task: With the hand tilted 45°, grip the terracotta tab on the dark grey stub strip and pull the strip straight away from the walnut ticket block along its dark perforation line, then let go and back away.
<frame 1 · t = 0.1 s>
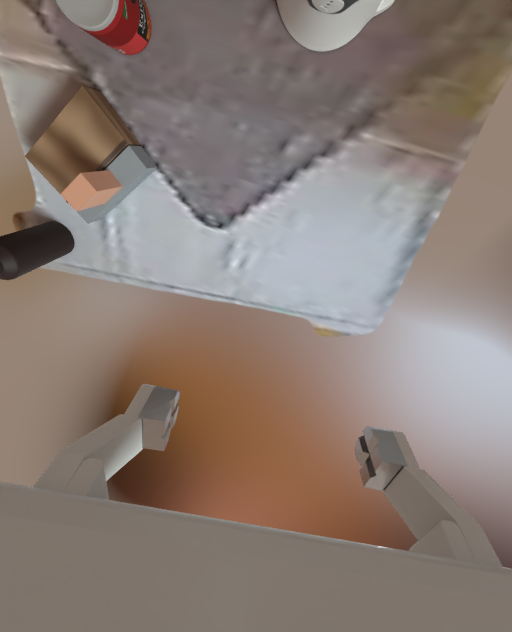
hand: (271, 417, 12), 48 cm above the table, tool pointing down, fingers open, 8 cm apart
canned food: (127, 23, 41), on the table
bottle: (59, 237, 59), on the table
stub: (101, 188, 47), point 7 cm above the table, slide at 0.0 cm
ticket block: (92, 150, 50), on the table
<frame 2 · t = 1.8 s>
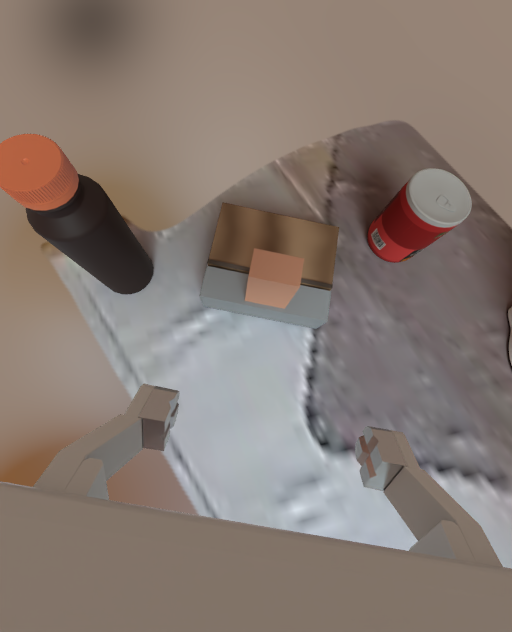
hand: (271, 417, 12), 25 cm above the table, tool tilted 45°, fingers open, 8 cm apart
canned food: (389, 241, 43), on the table
bottle: (129, 272, 39), on the table
stub: (268, 289, 33), point 7 cm above the table, slide at 0.0 cm
ticket block: (270, 261, 41), on the table
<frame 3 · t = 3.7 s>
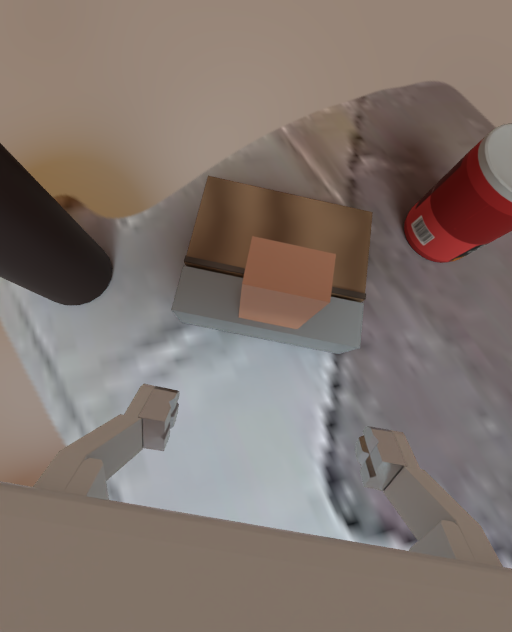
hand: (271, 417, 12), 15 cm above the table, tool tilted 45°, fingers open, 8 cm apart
canned food: (432, 235, 33), on the table
bottle: (79, 275, 28), on the table
stub: (273, 301, 22), point 7 cm above the table, slide at 0.0 cm
ticket block: (275, 259, 30), on the table
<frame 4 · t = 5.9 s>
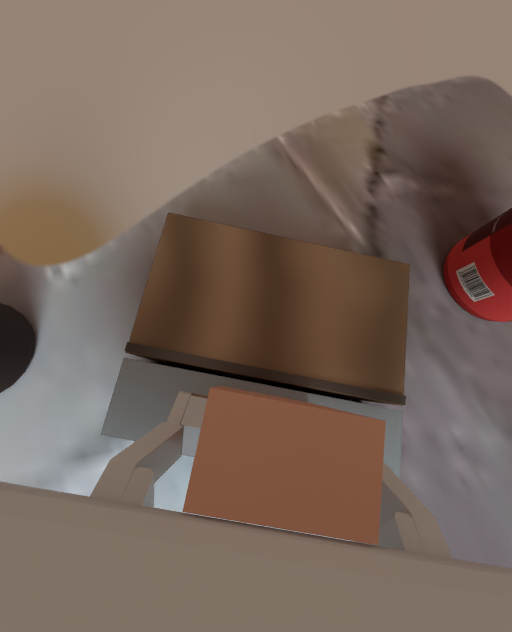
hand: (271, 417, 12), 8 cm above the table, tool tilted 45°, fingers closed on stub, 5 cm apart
canned food: (480, 281, 24), on the table
stub: (263, 426, 13), point 7 cm above the table, slide at 0.0 cm, touching gripper
ticket block: (268, 322, 22), on the table
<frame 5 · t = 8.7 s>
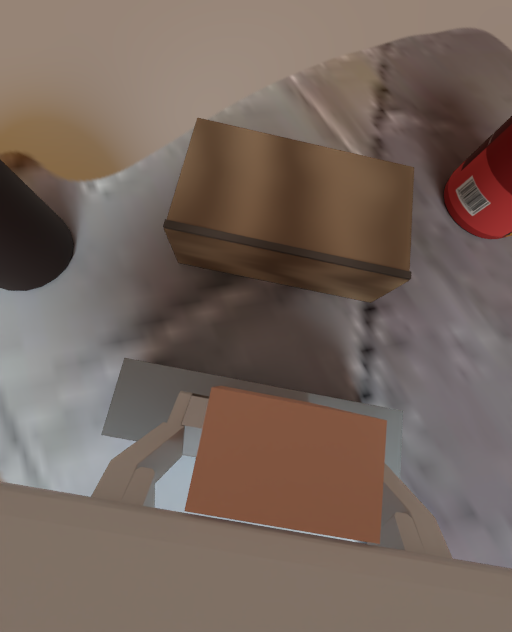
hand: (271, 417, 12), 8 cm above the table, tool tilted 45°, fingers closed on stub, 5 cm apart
canned food: (478, 206, 26), on the table
bottle: (30, 252, 21), on the table
stub: (264, 426, 13), point 7 cm above the table, slide at 7.8 cm, touching gripper
ticket block: (284, 234, 24), on the table
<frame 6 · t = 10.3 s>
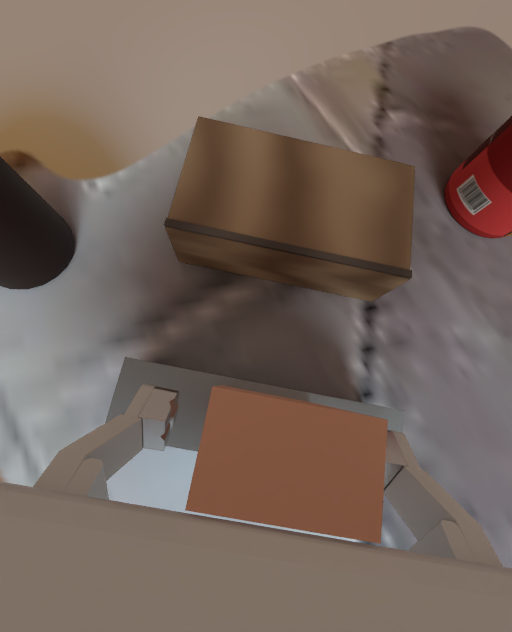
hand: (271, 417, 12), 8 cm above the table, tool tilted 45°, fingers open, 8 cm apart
canned food: (479, 205, 26), on the table
bottle: (31, 250, 21), on the table
stub: (264, 426, 13), point 7 cm above the table, slide at 7.9 cm
ticket block: (285, 233, 24), on the table
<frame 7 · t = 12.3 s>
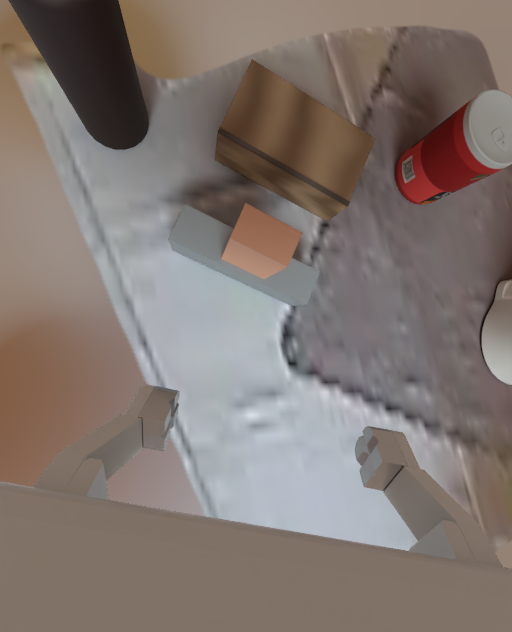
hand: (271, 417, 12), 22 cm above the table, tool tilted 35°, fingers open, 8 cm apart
canned food: (415, 179, 39), on the table
bottle: (117, 122, 31), on the table
stub: (251, 253, 28), point 7 cm above the table, slide at 7.9 cm
ticket block: (287, 160, 35), on the table
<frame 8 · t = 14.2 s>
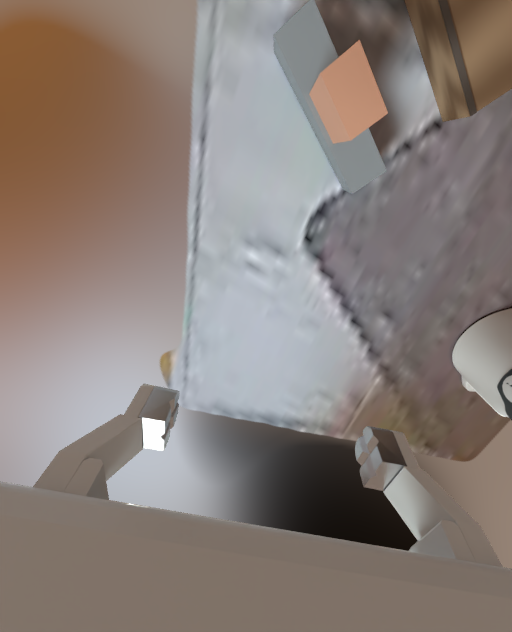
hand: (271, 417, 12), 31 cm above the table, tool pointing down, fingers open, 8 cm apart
stub: (338, 106, 26), point 7 cm above the table, slide at 7.9 cm
ticket block: (465, 5, 27), on the table
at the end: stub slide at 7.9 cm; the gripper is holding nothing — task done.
